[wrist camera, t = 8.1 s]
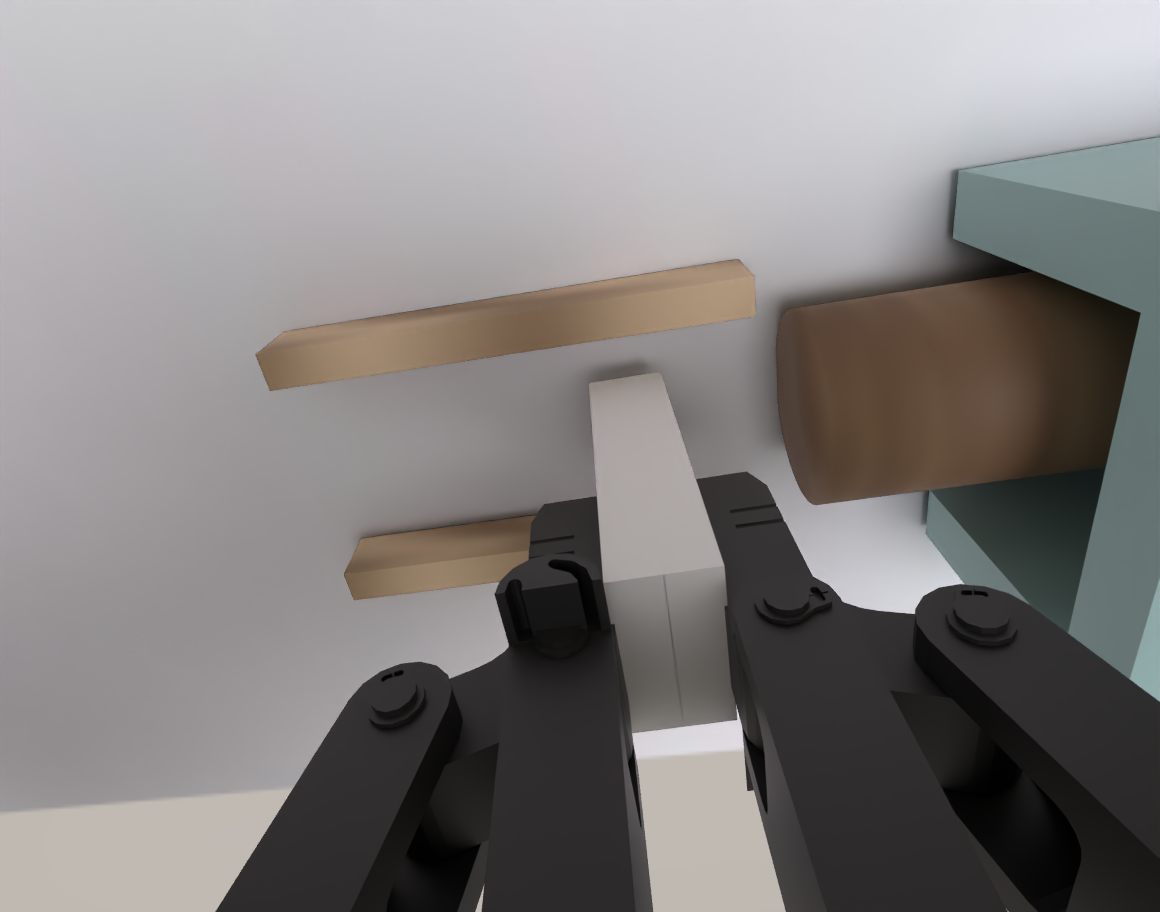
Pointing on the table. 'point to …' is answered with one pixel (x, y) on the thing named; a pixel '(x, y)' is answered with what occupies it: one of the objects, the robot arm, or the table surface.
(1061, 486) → the block
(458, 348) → the rails
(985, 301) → the dowel
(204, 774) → the table surface
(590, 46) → the table surface
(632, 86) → the table surface
